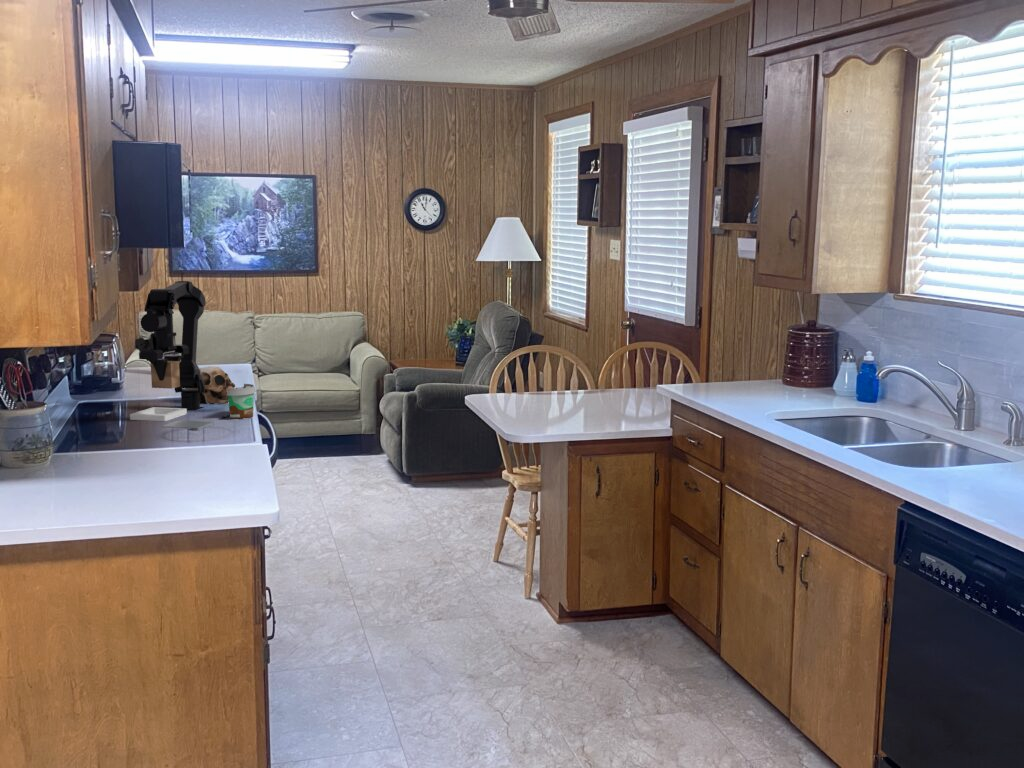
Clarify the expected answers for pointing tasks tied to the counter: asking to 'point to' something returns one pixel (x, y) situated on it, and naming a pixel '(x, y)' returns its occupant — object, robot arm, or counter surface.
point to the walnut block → (167, 376)
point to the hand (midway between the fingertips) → (165, 379)
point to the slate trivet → (189, 424)
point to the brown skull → (215, 385)
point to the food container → (241, 401)
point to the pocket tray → (158, 414)
